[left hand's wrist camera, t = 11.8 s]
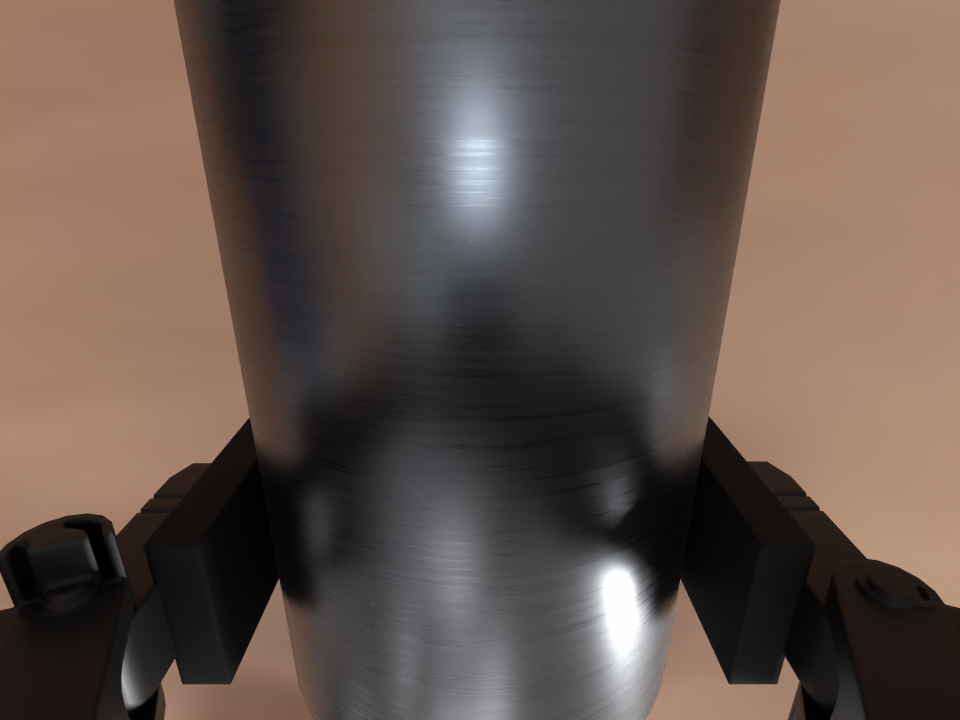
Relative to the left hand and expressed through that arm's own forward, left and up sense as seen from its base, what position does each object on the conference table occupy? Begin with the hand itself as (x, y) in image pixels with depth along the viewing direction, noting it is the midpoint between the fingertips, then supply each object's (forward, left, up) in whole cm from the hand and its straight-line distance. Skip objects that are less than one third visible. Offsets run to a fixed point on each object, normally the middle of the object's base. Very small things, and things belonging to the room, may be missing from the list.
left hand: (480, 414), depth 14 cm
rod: (+10, 0, -1) cm, 10 cm away
